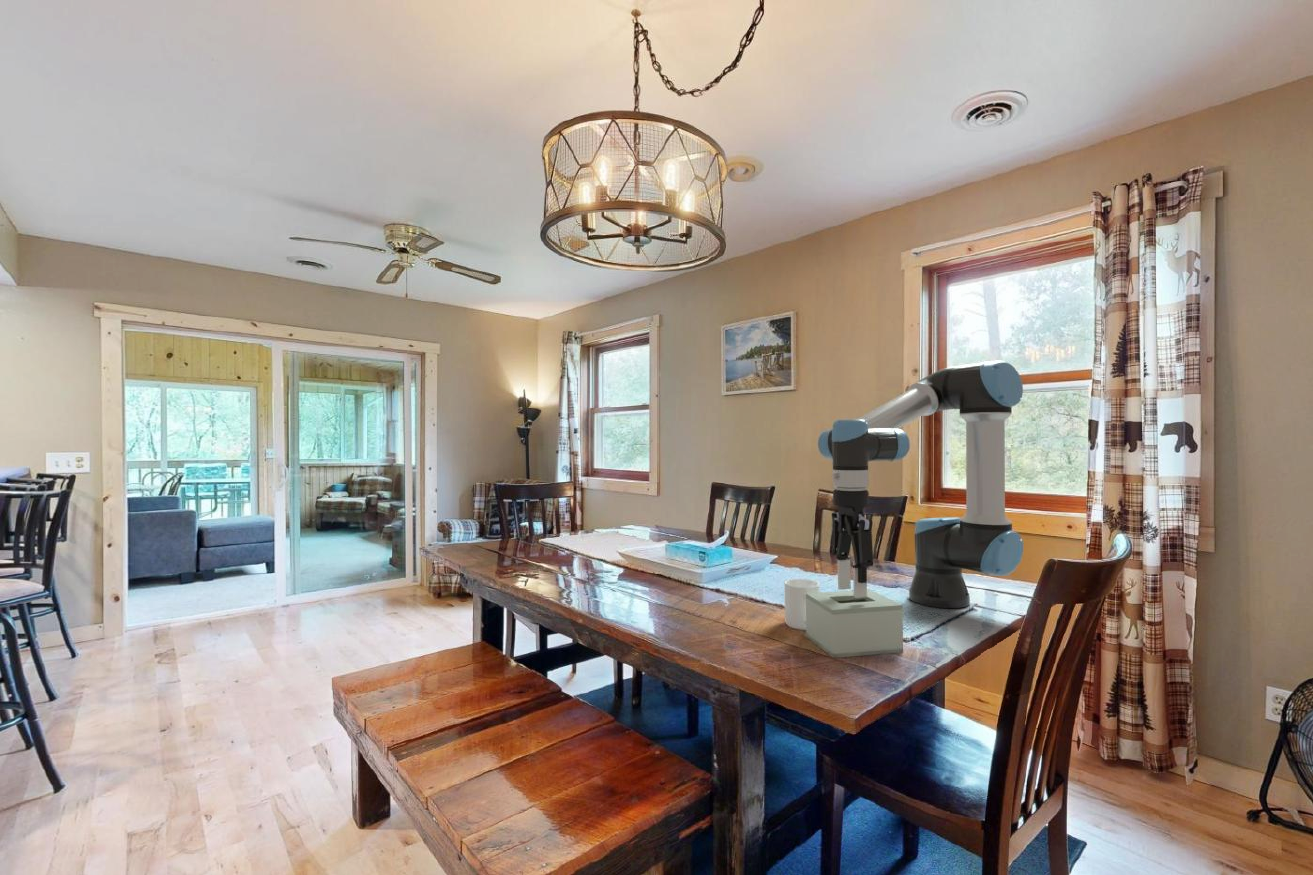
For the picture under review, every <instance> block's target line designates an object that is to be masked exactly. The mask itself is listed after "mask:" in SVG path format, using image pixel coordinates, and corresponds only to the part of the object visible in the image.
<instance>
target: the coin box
mask: <svg viewBox="0 0 1313 875" xmlns="http://www.w3.org/2000/svg"><path fill="white" fill-rule="evenodd" d="M903 617H904V613H903V604H901V603H899V602H897V601H895V600H893V599H891V598H889V597H886V596H885V595H882V594H881V593H878V592H876V591H874V590H871V589H870V588H869V589H868V588H867V597H861V598H855V597H854V589H853V590H851V589H850V590H837V591H823V592H822V591H821V592H820V591H819V593H806V630H805V632H806V638H807V639H809V640H810V641H811V642H813V644H815V645H816V646H818V648H820V649H822V650H823V651H824V652H825V653H826V654H828V656H831V657H832V659H837V658H838V659H839V658H849V657H859V656H862V657H863V656H872V655H873V656H874V655H885V654H896V653H897V654H899V653H903V652H904V618H903Z"/></svg>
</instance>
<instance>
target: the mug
mask: <svg viewBox="0 0 1313 875" xmlns="http://www.w3.org/2000/svg"><path fill="white" fill-rule="evenodd" d="M806 593H820V583H819V582H818V581H816V580H814V579H813V580H812V579H808V578H791V579H788V580H785V581H784V620H785V624H786V625H787V626H788V627H789V628H792V629H795V630H800V631H806Z"/></svg>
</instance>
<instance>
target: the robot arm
mask: <svg viewBox="0 0 1313 875" xmlns="http://www.w3.org/2000/svg"><path fill="white" fill-rule="evenodd" d="M1023 387H1024V386H1023V381H1022V379H1021V376H1020V373H1019V372H1018V370H1017V369H1016V368H1015V367H1014V366H1013V364H1011V363H1010V362H1007V361H1004V360H994V361H993V360H991V361H990V360H988V361H983V362H977V363H976V362H975V363H968V364H962V365H954V366H953V365H952V366H949V367H945V368H942V369H939V370H937V371H936V372H932V373H930V374H929V375H927V376H925V377H924V378H921V379H920V380H917V381H916V382H914V383H912V384H911V385H909V386H908V388H907V389H906V391H905V392H904V393H902V394H900V395H899V396H898V395H897V396H896V397H894V398H893V399H891V400H890V401H887V402H886V403H884V404H882V405H880V406H878V407H877V408H875V409H873V410H871V411H870V412H867V413H866V414H864V415H862V416H861V417H859V418H857V419H853V418H852V419H850V418H849V419H837V420H835V421H834V422H833V423H832V428H831V429H827V430H824V431H822V432H821V434H819V436H818V440H817V448H818V451H819V454H821V455H822V457H824V458H826V459H831V460H832V474H831V477H832V485H833V487H834V488H835V489H833V491H832V504H833V506H834V507H836V508H838V512H831V521H832V529H831V531H832V532H831V533H832V538H831V542H832V543H831V553H832V555H833V556H835V559H836V560H837V589H838V590H839V591H842V590H851V589H852V588H853V590H854V597H855V598H861V597H867V589H868V571H867V570H868V568H869V567H873V566H874V551H873V550H874V549H873V548H874V547H873V534H872V533H873V532H872V531H873V523H874V522H873V520H872V519H867V518H866V515H865V513H864V509H865V508H867V507H869V504H870V498H869V496H870V493H869V491H868V490H867V488H869V486H870V484H869V483H870V482H869V462H883V461H885V462H886V461H888V462H893V461H899V460H901V459H902V460H903V458H904V459H905V457H906V456H907V455H908V453H909V451H910V445H911V443H910V439H909V436H908V434H907V433H906V432H905V431H904V430H903V429H901V428H903V427H904V426H906V425H908V424H910V423H911V422H913V421H914V420H916V419H919V418H920V417H922V416H924V417H927V416H931V415H933V414H934V413H937V412H940V411H941V412H942V411H947V410H959V417H961V418H962V419H963V420H965V423H966V424H965V434H966V435H965V440H966V441H965V442H966V444H965V447H966V448H965V450H966V451H965V455H966V459H965V461H966V463H965V464H966V466H965V468H966V469H965V471H966V472H965V474H966V475H965V476H966V481H965V483H966V484H965V486H966V487H965V488H966V491H965V492H966V495H965V496H966V500H965V501H966V503H965V504H966V512H965V514H964V515H963V516H962V517H958V516H955V517H954V516H953V517H952V516H951V517H950V516H949V517H944V516H943V517H929V518H921V519H918V520H917V521H916V522H915V526H914V528H915V529H914V557H915V558H914V559H915V572H914V575H913V577H912V580H911V584H910V587H909V589H908V598H909V599H910V600H911V601H912V602H914V603H917V604H918V605H919V604H920V605H923V606H928V607H933V608H943V609H961V608H966V607H969V606H970V604H971V596H970V593H969V591H968V588H967V585H966V581H965V580H964V577H963V570H968V571H971V572H972V571H973V572H976V573H982V574H984V575H986V576H991V575H992V576H998V577H1005V576H1008V575H1010V574H1012V573H1013V572H1014V571H1015V570H1016V569H1017V567H1018V566H1019V564H1020V563H1021V561H1022V559H1023V558H1022V557H1023V556H1024V555H1023V554H1024V541H1023V539H1022V536H1021V534H1019V533H1018V532H1016V531H1015V530H1013V521H1012V520H1010V519H1009V518H1008V517H1007V516H1006V496H1005V495H1006V486H1005V484H1006V481H1005V480H1006V476H1005V475H1006V468H1005V467H1006V465H1005V464H1006V463H1005V461H1006V460H1005V458H1006V453H1005V452H1006V450H1005V449H1006V448H1005V447H1006V446H1005V445H1006V444H1005V443H1006V441H1005V440H1006V439H1005V437H1006V435H1005V430H1006V429H1005V427H1006V426H1005V425H1006V424H1005V422H1006V420H1007V419H1008V418H1009V417H1011V415H1012V408H1013V407H1014V406H1016V405H1018V404H1019V403H1020V402H1021V399H1022V397H1023V393H1024V388H1023ZM851 546H852V551H853V552H852V553H853V558H854V564H852V570H853V571H852V577H853V580H852V581H853V584H852V585H853V586H852V585H851V583H852V582H851V579H852V578H851V558H852V557H851V556H850V554H849V553H850V548H851ZM851 586H852V587H851Z"/></svg>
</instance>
